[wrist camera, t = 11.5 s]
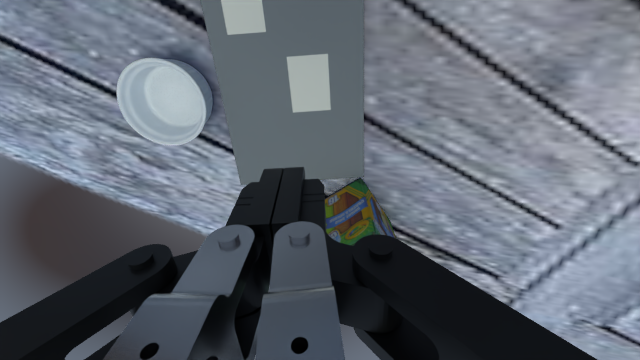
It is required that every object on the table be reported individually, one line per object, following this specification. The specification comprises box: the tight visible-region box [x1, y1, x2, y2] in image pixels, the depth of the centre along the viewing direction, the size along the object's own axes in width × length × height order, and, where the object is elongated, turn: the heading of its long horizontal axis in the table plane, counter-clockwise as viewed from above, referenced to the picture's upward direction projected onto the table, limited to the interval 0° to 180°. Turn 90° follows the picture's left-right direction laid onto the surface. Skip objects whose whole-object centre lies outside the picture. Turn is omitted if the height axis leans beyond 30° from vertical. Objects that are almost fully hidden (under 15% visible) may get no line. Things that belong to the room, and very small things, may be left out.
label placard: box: [200, 0, 364, 185], centre depth 33 cm, size 24×16×1 cm, turn 4°
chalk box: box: [325, 179, 396, 246], centre depth 35 cm, size 9×9×15 cm
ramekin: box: [117, 58, 213, 146], centre depth 32 cm, size 9×9×4 cm
